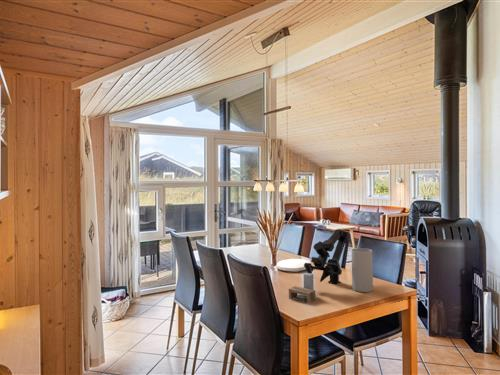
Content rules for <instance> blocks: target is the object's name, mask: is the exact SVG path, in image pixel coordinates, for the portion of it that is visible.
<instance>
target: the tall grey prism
mask: <svg viewBox="0 0 500 375" xmlns="http://www.w3.org/2000/svg"><path fill="white" fill-rule="evenodd" d="M303 288H307V289H311V290H315V289H314V288H315V287H314V273H312V274H310V273H307V272H306V273H304V274H303ZM297 295H298V296H296V297H297V298H301V299H305V300H307V296H306V295H302V294H297Z"/></svg>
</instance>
